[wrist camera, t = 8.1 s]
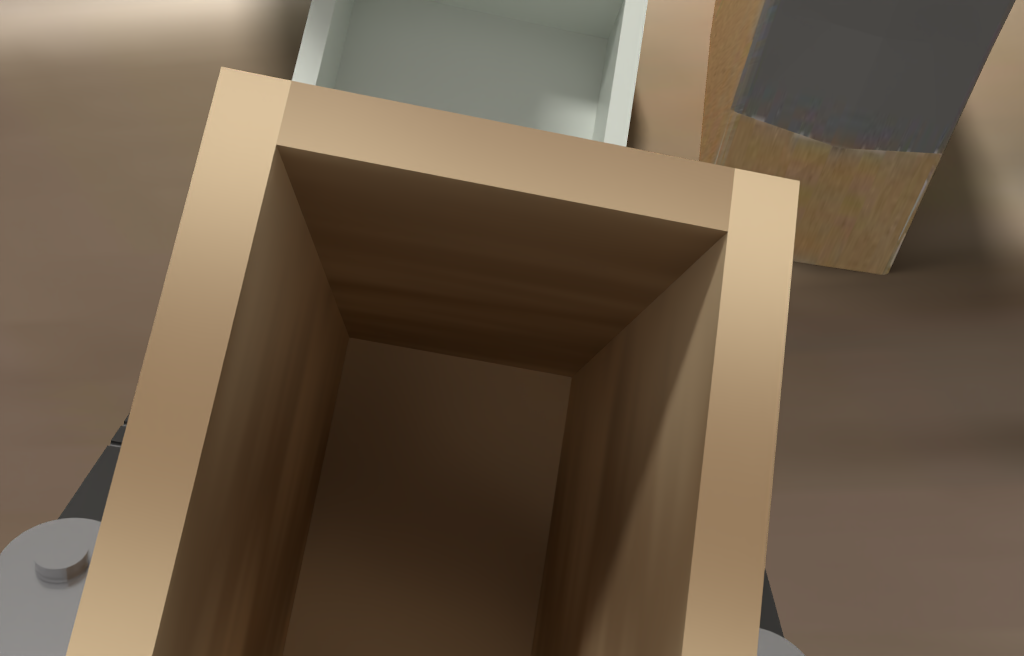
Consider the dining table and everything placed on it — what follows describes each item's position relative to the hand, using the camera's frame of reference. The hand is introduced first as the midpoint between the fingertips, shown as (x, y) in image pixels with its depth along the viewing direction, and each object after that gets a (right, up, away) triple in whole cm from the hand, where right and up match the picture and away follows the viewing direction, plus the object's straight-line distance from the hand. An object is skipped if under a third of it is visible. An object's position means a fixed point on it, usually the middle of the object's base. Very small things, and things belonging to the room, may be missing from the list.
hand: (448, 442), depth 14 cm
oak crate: (-1, -3, +4) cm, 5 cm away
